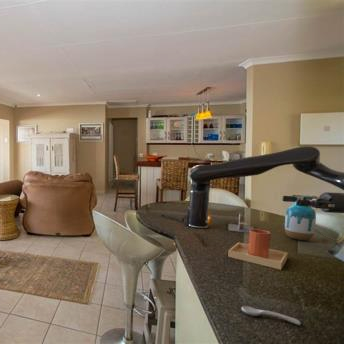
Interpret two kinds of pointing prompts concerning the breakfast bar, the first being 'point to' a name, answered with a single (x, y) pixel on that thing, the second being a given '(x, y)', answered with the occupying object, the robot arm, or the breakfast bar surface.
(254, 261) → the tray
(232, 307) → the breakfast bar surface
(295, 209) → the vase
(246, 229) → the architectural model
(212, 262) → the breakfast bar surface
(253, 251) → the cup
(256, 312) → the spoon
